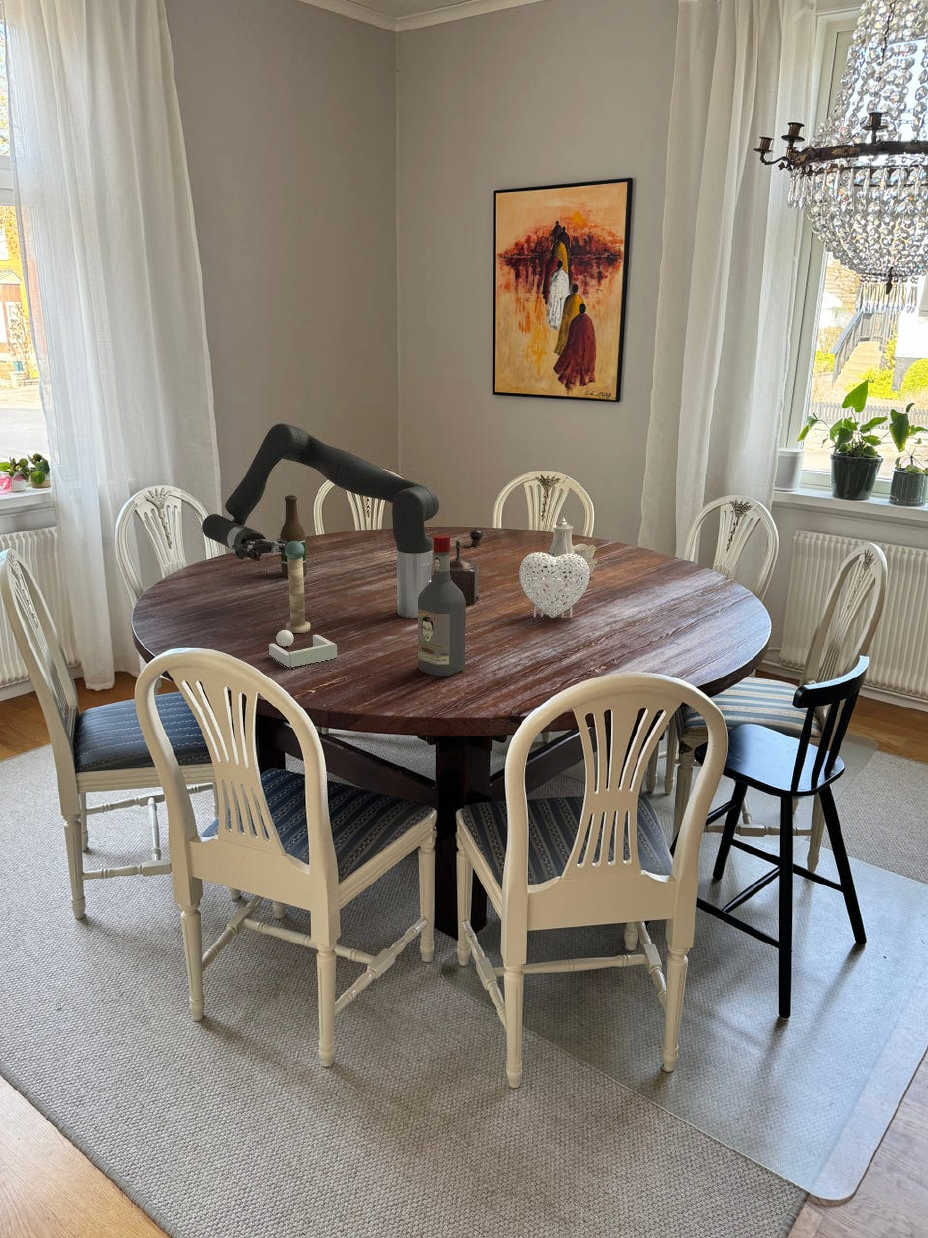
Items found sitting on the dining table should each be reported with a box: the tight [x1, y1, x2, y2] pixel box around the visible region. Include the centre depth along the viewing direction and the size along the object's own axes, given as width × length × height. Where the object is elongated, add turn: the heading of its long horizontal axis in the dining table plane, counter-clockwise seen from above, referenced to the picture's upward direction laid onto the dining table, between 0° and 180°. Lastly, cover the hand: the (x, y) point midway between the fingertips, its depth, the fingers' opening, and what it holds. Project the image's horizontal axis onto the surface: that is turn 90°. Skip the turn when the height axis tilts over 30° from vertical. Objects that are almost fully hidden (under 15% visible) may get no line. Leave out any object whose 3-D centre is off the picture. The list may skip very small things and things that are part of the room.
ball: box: [275, 629, 294, 648], centre depth 220 cm, size 4×4×4 cm
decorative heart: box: [518, 551, 591, 619], centre depth 242 cm, size 18×11×17 cm, turn 83°
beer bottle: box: [279, 494, 307, 579], centre depth 278 cm, size 8×8×24 cm
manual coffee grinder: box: [450, 529, 484, 606], centre depth 259 cm, size 16×11×18 cm
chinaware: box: [543, 517, 599, 579], centre depth 289 cm, size 28×17×17 cm, turn 178°
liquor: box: [417, 534, 467, 678], centre depth 203 cm, size 9×9×30 cm
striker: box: [285, 541, 311, 634], centre depth 229 cm, size 6×6×23 cm
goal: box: [268, 634, 338, 667], centre depth 213 cm, size 10×12×4 cm
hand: (273, 555), depth 235 cm, fingers open, 8 cm apart
